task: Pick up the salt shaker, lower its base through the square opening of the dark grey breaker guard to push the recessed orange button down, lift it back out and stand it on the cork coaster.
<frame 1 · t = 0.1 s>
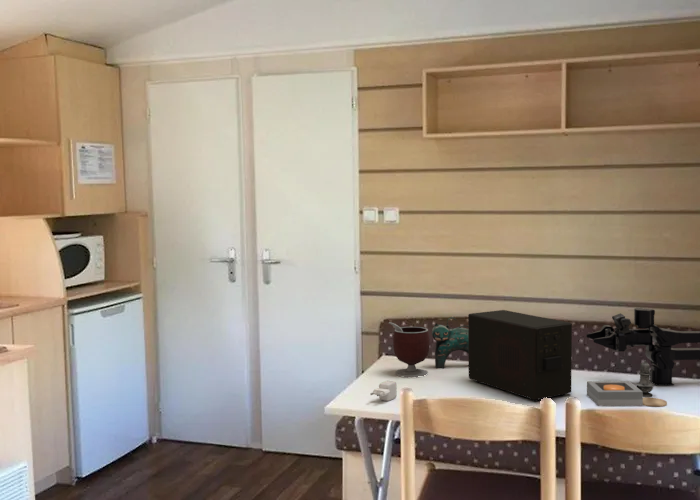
hand: (589, 338, 273), 17 cm above the table, tool horizontal, fingers open, 9 cm apart
power adapter: (383, 401, 256), on the table
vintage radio: (522, 388, 270), on the table
breaker guard: (613, 399, 253), on the table
ceramic cat: (456, 367, 304), on the table
mate gourd: (409, 374, 294), on the table
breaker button: (614, 389, 253), point 3 cm above the table, slide at 0.0 cm
salt shaker: (644, 395, 259), on the table
coaster: (651, 403, 249), on the table
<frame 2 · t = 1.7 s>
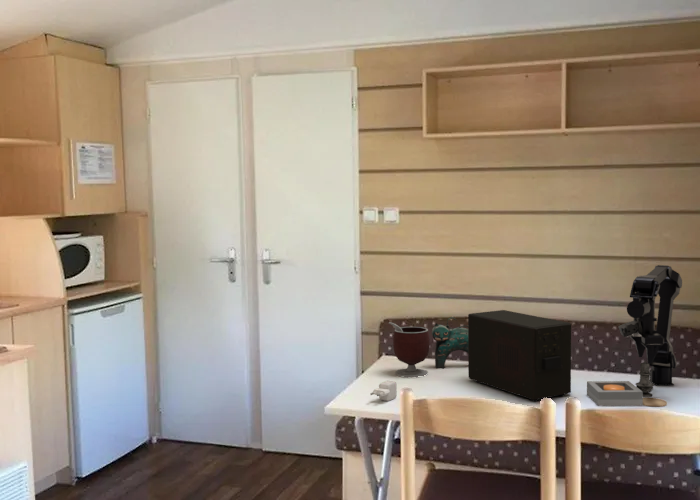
hand: (644, 360, 258), 12 cm above the table, tool pointing down, fingers open, 9 cm apart
nothing on the table moved.
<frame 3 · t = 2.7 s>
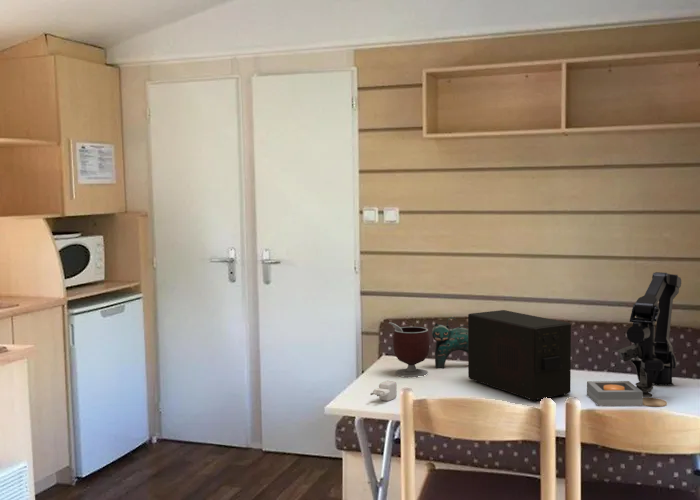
hand: (644, 384, 258), 4 cm above the table, tool pointing down, fingers closed on salt shaker, 8 cm apart
salt shaker: (644, 395, 259), on the table, touching gripper
everything else where it was.
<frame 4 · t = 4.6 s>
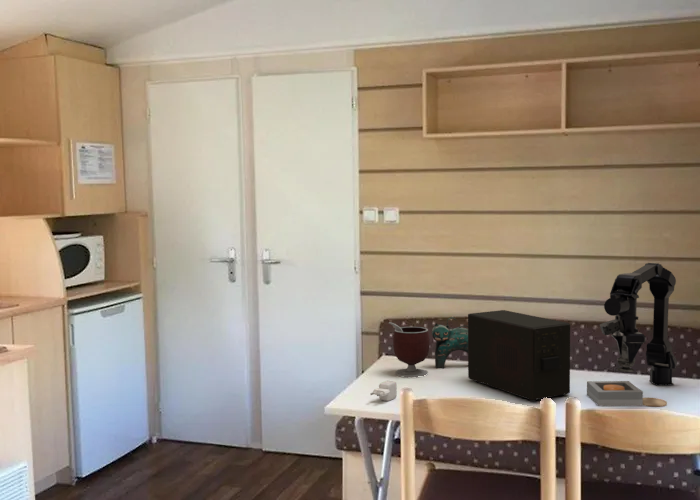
hand: (626, 359, 254), 13 cm above the table, tool pointing down, fingers closed on salt shaker, 8 cm apart
salt shaker: (626, 370, 254), point 9 cm above the table, touching gripper
everything else where it was.
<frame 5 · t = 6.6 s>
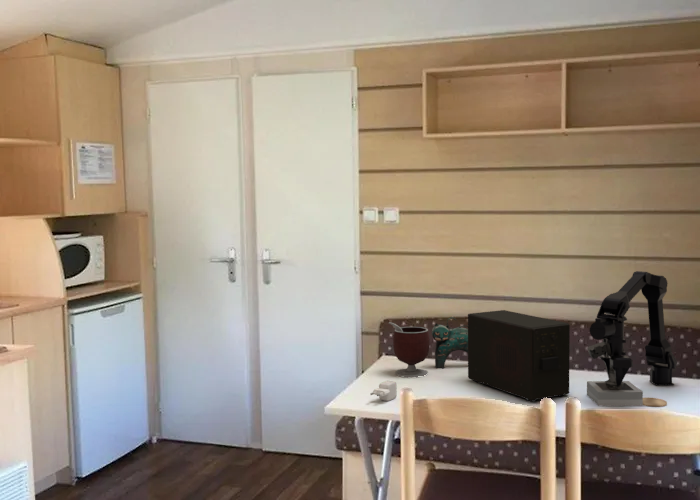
hand: (614, 382, 253), 6 cm above the table, tool pointing down, fingers closed on salt shaker, 8 cm apart
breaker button: (613, 395, 253), point 1 cm above the table, slide at 2.0 cm, touching salt shaker
salt shaker: (614, 393, 253), point 2 cm above the table, touching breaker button, gripper
everything else where it was.
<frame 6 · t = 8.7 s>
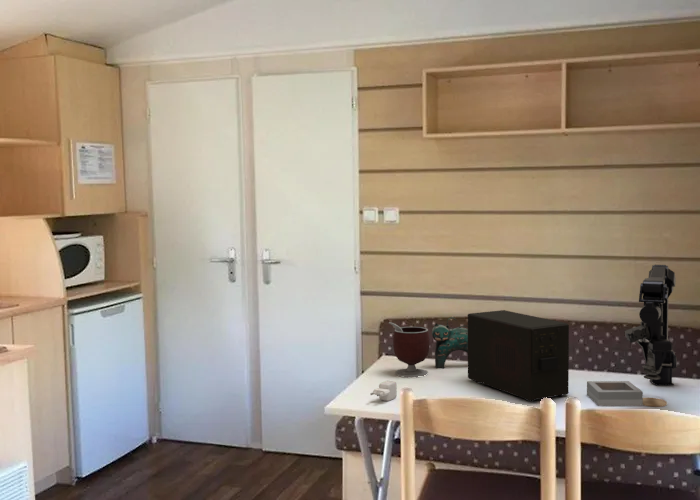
hand: (652, 366, 248), 12 cm above the table, tool pointing down, fingers closed on salt shaker, 8 cm apart
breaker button: (613, 395, 253), point 1 cm above the table, slide at 2.0 cm
salt shaker: (652, 378, 248), point 8 cm above the table, touching gripper
everything else where it was.
when the fingers open (5 cm above the table, at t = 10.5 s): salt shaker stays where it is, resting on coaster.
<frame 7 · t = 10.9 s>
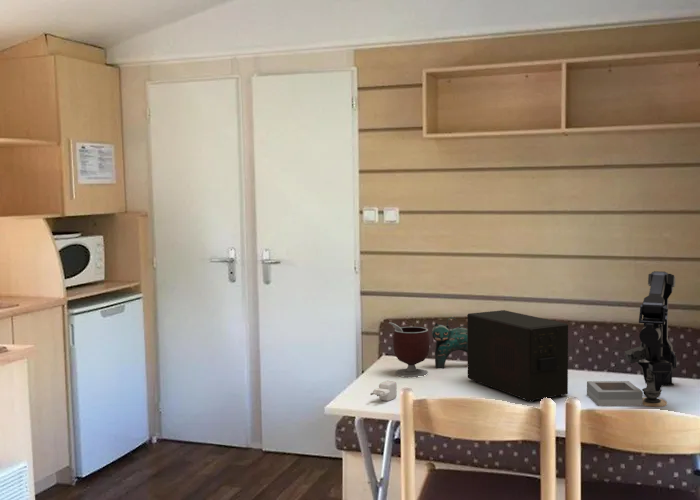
hand: (652, 387, 248), 5 cm above the table, tool pointing down, fingers open, 9 cm apart
salt shaker: (652, 401, 248), point 1 cm above the table, touching coaster
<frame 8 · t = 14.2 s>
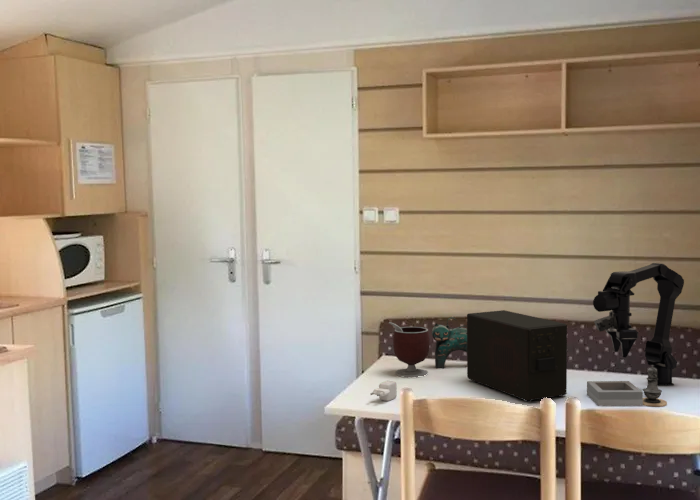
hand: (620, 354, 262), 13 cm above the table, tool pointing down, fingers open, 9 cm apart
at the end: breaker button slide at 2.0 cm; salt shaker 0.1 cm from the coaster (horizontally); salt shaker tilted 0° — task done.
